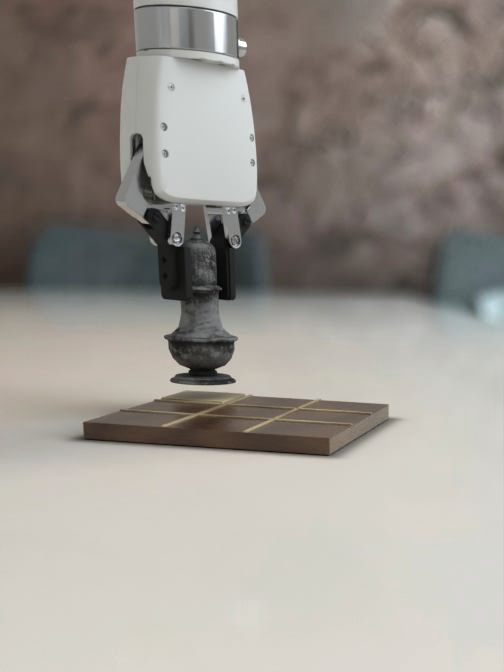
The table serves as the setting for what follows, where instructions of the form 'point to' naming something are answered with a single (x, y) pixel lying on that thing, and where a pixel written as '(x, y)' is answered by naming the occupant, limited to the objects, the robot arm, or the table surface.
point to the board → (241, 422)
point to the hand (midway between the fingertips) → (198, 297)
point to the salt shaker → (201, 323)
